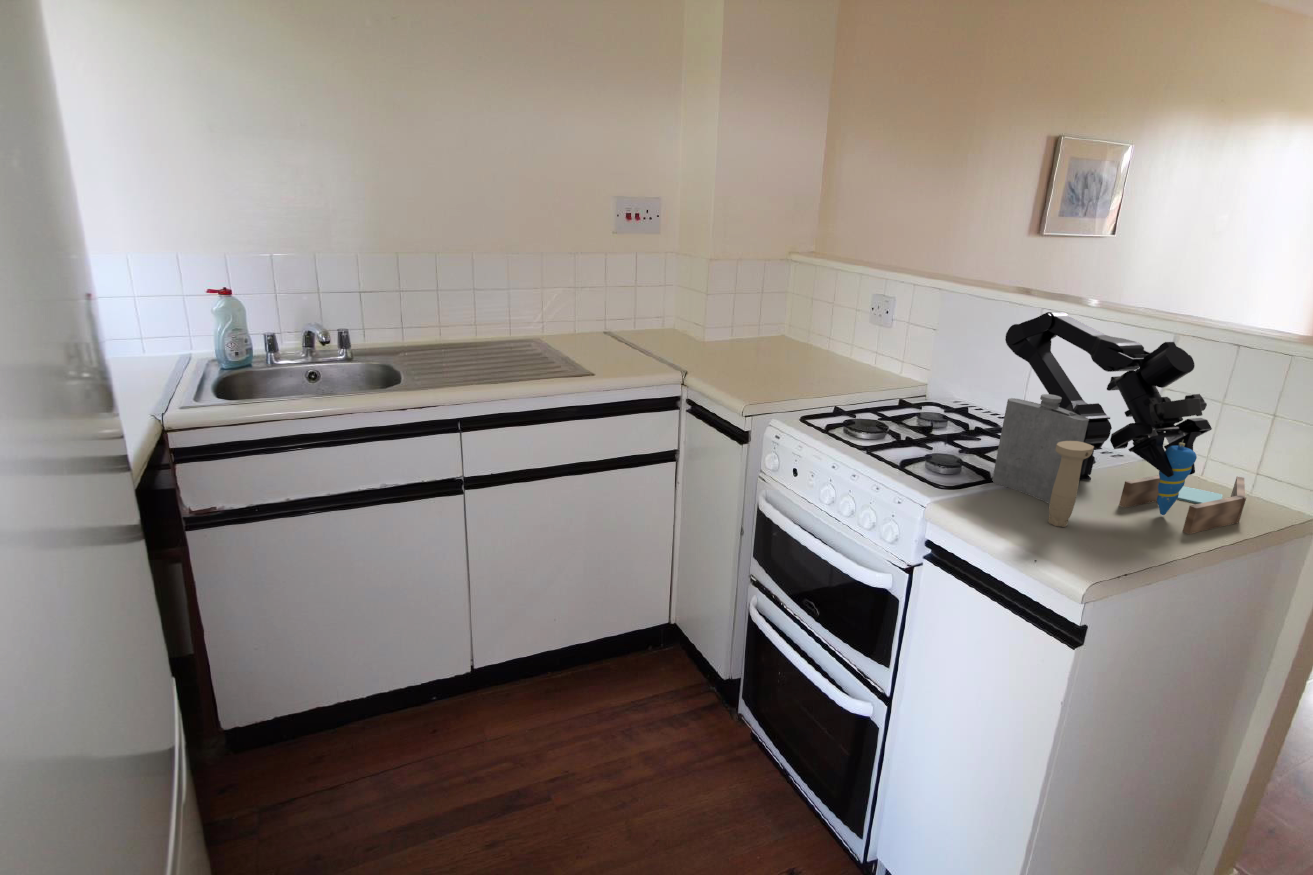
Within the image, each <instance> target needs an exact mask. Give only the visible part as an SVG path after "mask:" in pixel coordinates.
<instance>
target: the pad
mask: <svg viewBox="0 0 1313 875" xmlns="http://www.w3.org/2000/svg"><path fill="white" fill-rule="evenodd" d="M1219 499H1223V493H1218V492H1212V491H1208V490H1204V489H1201V488H1193V487H1189V486H1185V485H1184V486H1183V487H1182V489H1181V490H1180V491H1179V495H1178V498H1177V500H1179V501H1184V502H1187V503H1193V504H1200V503H1205V502H1210V501H1214V500H1219Z"/></svg>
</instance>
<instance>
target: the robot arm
mask: <svg viewBox="0 0 1313 875" xmlns="http://www.w3.org/2000/svg"><path fill="white" fill-rule="evenodd" d="M1056 337H1059V338H1061V339H1063V340H1064V341H1066V342H1068V343H1069V344H1071V345H1073V346H1075V347H1077V348H1079V349H1081V350H1082V351H1085V352H1086V353H1087V354H1089V355H1090V358H1091V361H1092V362H1093V363H1095V364H1096V365H1097V366H1098V367H1099V368H1101V370H1103V371H1105V372H1109V373H1111V372H1124V373H1123V374H1121V375H1120V376H1119V375H1118V376H1111V377H1110V381H1109V383H1108V384H1107V385H1106V391H1110V392H1112V391H1119V393H1120V395H1121V397H1122V399H1123V401H1124V403H1125V405H1126V407H1127V410H1126V411H1124V413H1123V414H1124V415H1125V417H1126V418H1131V417H1132V419H1133V422H1131V423H1128V424H1126V425H1125V426H1123V427H1121V428H1120V429H1118V430H1116V431H1115V432H1112V433H1111V430H1112V424H1111V422H1110V420H1111V416H1109V415H1107V413H1106V411H1104V408H1103V406H1102V405H1101V404H1100V403H1099V402H1096V403H1088V402H1086V401H1085V400H1084V399H1083V397H1082V396H1081V394H1080V393H1079V391H1078V390H1077V388H1076V387H1075V385H1074V384H1073V382H1072V381H1071V380H1070V378H1069V377H1068V375H1067V373H1066V372H1065V371H1064V369H1063V368H1062V366H1061V365H1060V363H1059V362H1058V360H1057V358H1056V357H1055V356H1054V355H1053V354H1054V353H1052V351H1051V350H1052V339H1054V338H1056ZM1004 339H1005V344H1006V346H1007V347H1008V348H1009V349H1010V350H1011V351H1012V353H1013V354H1014V355H1016V356H1017V357H1018V358H1020V359H1022V360H1024V361H1025V362H1027V363H1028V364H1029V366H1030V367H1031V368H1032V370H1033V372H1034V373H1035V375H1036V376H1037V378H1038V379H1039V381H1040V382H1041V384H1042V386H1043V387H1044V389H1045V390H1046V391H1047V394H1051V395H1056V396H1059V397H1061V398H1062V399H1061V402H1060V403H1058V404H1059V407H1060V408H1063V409H1066V410H1068V411H1071V412H1074V413H1076V414H1078V415H1081V416H1084V417H1086V418H1088V419H1089V421H1088V425H1087V430H1086V434H1085V438H1084V443H1087V444H1090V445H1092V446H1094V449H1093V452H1092V454H1091V455H1090V456H1089V457H1088V458H1086V459H1083V462H1082V466H1081V472H1080V478H1079V480H1080V481H1081V480H1083V481H1092V477H1091V476H1090V475H1092V473H1093V467H1094V463H1095V459H1096V457H1095V456H1094V452H1095V450H1100V449H1101V448H1102V447H1103V445H1104V443H1105V442H1107V441H1108V440H1109V438H1110V440H1109V442H1110V443H1111V446H1112V447H1113V450H1120V449H1121V450H1122V449H1126V448H1127V447H1128V445H1129V442H1131V441H1132V445H1133V446H1131V447H1130V448H1128V452H1130V453H1134V454H1135V455H1136V456H1138V457H1139V458H1141V459H1143V460H1144V461H1146V462H1147V463H1148V464H1150V465H1151V466H1153V468H1155V469H1157V470H1158V472H1159V471H1160V472H1162V473H1163V474H1164V475H1165V476H1167V477H1171V476H1173V475H1174V473H1173V470H1172V467H1171V465H1170V462H1169V460H1168V457H1167V455H1166V453H1165V450H1166V449H1167V448H1168V447H1170V446H1178V445H1179V443H1182V441H1183V440H1184V441H1183V443H1185V446H1184V447H1186V448H1189V449H1191V450H1193V451H1194V443H1195V442H1196V439H1197V438H1198V437H1200V436H1202V435H1204V434H1206V433H1208V432H1210V431H1212V430H1213V428H1212V426H1211V424H1210V423H1209V420H1208V419H1205V418H1203V417H1202V416H1203V411H1205V409H1206V408H1207V404H1208V403H1207V402H1206V401H1205V399H1204V397H1202V395H1201V394H1200V393H1194V394H1193V393H1192V394H1189V395H1188V394H1187V395H1186V394H1185V396H1184V398H1183V399H1178V400H1176V399H1175V400H1172V399H1171V398H1170V397H1168V396H1162V395H1161V393H1160V391H1159V390H1158V388H1162V389H1164V388H1166V387H1169V385H1171V384H1174V383H1175V382H1177V381H1178V380H1180V379H1182V378H1183V377H1184V376H1187V375H1188V374H1190V373H1192V372H1193V370H1194V369H1195V361H1194V359H1193V356H1192V355H1190V354H1189V353H1188V352H1186V351H1185V350H1184V349H1183V348H1181V347H1179V346H1177V344H1176V343H1175V341H1165V342H1163V343H1161V344H1160V345H1159V346H1158V347H1157V348H1156V349H1154V350H1153V351H1151V352H1150V351H1148V350H1146V349H1145V347H1144V346H1143V345H1142V344H1141V343H1140V342H1137V341H1135V340H1130V339H1126V338H1122V337H1116V336H1110V335H1107V334H1105V333H1103V332H1101V331H1099V330H1097V329H1095V328H1093V327H1091V326H1089V325H1087V324H1085V323H1084V322H1081V321H1079V320H1077V319H1075V318H1073V317H1071V316H1070V315H1069V314H1067V313H1066V312H1064V311H1048V312H1045V313H1043V314H1041V315H1039V316H1037V317H1035V318H1031V319H1028V320H1025V321H1023V322H1021V323H1013V324H1011V326H1010V327H1009V328H1008V330H1007V331H1006V333H1005V338H1004ZM1194 416H1196V417H1194ZM1186 417H1194V418H1187V419H1185V420H1184V418H1186ZM1165 439H1166V441H1167V443H1168V444H1166V445H1164V443H1165ZM1195 466H1196V465H1195V463H1194V464H1193V465H1192V466H1191V467H1192V470H1191V472H1190V474H1189V475H1188V476H1192V475H1194V474H1195V473H1196V468H1195Z"/></svg>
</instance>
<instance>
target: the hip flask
mask: <svg viewBox="0 0 1313 875" xmlns="http://www.w3.org/2000/svg"><path fill="white" fill-rule="evenodd" d="M1061 399H1062V398H1061V397H1059V396H1056V395H1051V394H1049V393H1043V394H1042V393H1041V395H1040V399H1039V400H1040V403H1038V402H1034V401H1030V400H1025V399H1021V398H1013V397H1011V398H1007V402H1006V407H1005V412H1004V417H1003V422H1002V428H1001V432H1000V437H999V441H998V442H999V444H998V449H997V453H996V458H995V463H994V468H993V474H992V479H991V482H992V481H993V482H992V483H994V484H996V485H999V486H1002V487H1006V488H1008V489H1012V490H1014V491H1017V492H1021V493H1022V494H1025V495H1028V496H1031V497H1033V498H1036V499H1038V500H1041V501H1043V502H1046V503H1048V504H1049V505H1050V499H1051V494H1052V490H1053V487H1054V483H1055V480H1056V477H1057V473H1058V470H1059V466H1060V463H1061V458H1062V456H1061V455H1060V454H1058V453H1057V452H1056V445H1057V443H1059V442H1062V441H1079V442H1084V438H1085V434H1086V430H1087V425H1088V421H1089V419H1088V418H1086V417H1084V416H1081V415H1078V414H1076V413H1074V412H1071V411H1068V410H1066V409H1063V408H1060V407H1059V404H1058V403H1060V402H1061Z"/></svg>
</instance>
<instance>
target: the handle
mask: <svg viewBox="0 0 1313 875" xmlns="http://www.w3.org/2000/svg"><path fill="white" fill-rule="evenodd" d="M1093 450H1095V449H1094V446H1092V445H1090V444H1087V443H1084V442H1079V441H1062V442H1059V443H1057V445H1056V452H1057V453H1058V454H1060V455H1061V456H1062V458H1061V463H1060V466H1059V470H1058V473H1057V477H1056V480H1055V483H1054V487H1053V490H1052V494H1051V499H1050V504H1049V506H1048V507H1049V508H1048V514H1049V516H1048V524H1050V525H1053V526H1054V527H1061V528H1065V527H1067V525H1068V523H1069V519H1070V518H1071V516H1072V513H1073V511H1074V507H1075V504H1076V500H1077V496H1078V490H1079V482H1080V479H1079V478H1080V472H1081V466H1082V462H1083V459H1086V458H1088V457H1089V456H1090V455H1091V454H1092V452H1093Z"/></svg>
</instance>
